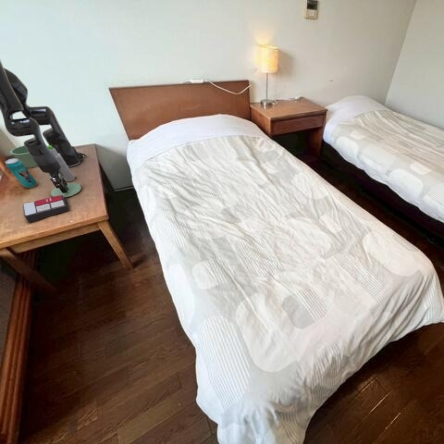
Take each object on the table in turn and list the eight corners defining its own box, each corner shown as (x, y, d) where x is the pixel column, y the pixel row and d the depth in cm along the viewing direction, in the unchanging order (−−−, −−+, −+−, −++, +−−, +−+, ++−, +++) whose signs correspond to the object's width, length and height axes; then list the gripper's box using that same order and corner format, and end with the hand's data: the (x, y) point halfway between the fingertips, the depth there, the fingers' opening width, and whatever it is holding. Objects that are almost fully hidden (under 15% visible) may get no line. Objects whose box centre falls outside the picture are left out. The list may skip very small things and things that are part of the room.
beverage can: (30, 189, 130) (10, 164, 120) (21, 187, 131) (0, 162, 121) (41, 183, 135) (22, 159, 124) (32, 181, 135) (12, 157, 125)
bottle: (76, 176, 142) (56, 144, 128) (73, 181, 138) (52, 148, 125) (67, 177, 141) (46, 144, 127) (64, 181, 138) (41, 148, 124)
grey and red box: (65, 204, 119) (23, 215, 111) (69, 211, 122) (29, 222, 113) (61, 193, 125) (21, 203, 116) (66, 200, 127) (26, 210, 119)
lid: (52, 188, 132) (46, 179, 128) (81, 182, 138) (76, 173, 134) (51, 201, 125) (44, 192, 121) (82, 194, 131) (76, 185, 127)
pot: (21, 160, 149) (11, 147, 144) (46, 156, 155) (38, 143, 149) (19, 169, 142) (8, 156, 137) (45, 165, 148) (36, 152, 142)
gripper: (55, 165, 116) (74, 194, 128) (56, 152, 125) (73, 180, 136) (34, 169, 113) (56, 198, 124) (37, 155, 121) (56, 183, 133)
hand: (65, 188), depth 130 cm, fingers open, 6 cm apart
